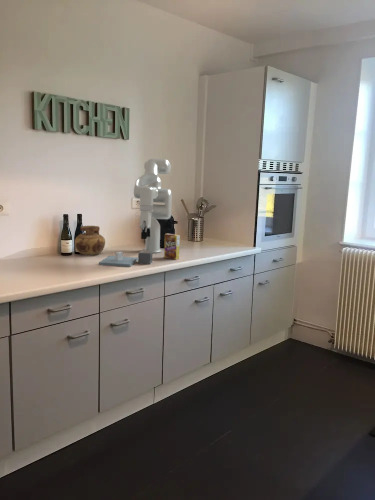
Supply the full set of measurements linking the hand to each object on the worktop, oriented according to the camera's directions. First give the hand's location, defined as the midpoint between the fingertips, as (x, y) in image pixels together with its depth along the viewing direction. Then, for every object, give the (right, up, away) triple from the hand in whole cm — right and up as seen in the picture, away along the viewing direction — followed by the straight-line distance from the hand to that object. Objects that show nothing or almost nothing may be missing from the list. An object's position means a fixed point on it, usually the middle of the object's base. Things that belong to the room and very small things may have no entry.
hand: (145, 237), depth 255 cm
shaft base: (-16, -14, +2) cm, 21 cm away
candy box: (+14, -13, +19) cm, 27 cm away
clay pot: (-38, -10, +23) cm, 45 cm away
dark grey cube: (-1, -15, +3) cm, 15 cm away
